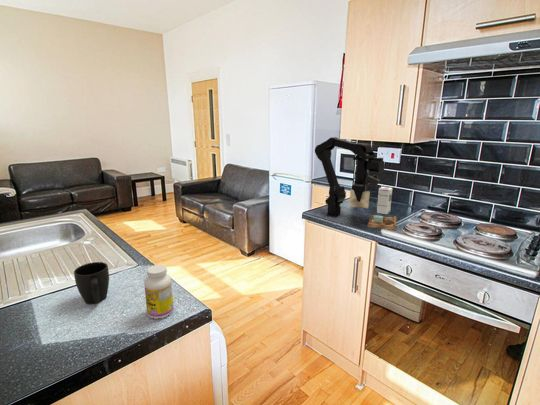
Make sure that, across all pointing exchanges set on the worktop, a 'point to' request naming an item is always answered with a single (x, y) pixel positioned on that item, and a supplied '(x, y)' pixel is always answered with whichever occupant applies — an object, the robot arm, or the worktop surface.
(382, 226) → the rack
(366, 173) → the robot arm
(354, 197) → the birch board
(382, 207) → the syrup box
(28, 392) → the worktop surface
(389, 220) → the small walnut offcut
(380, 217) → the teal offcut
